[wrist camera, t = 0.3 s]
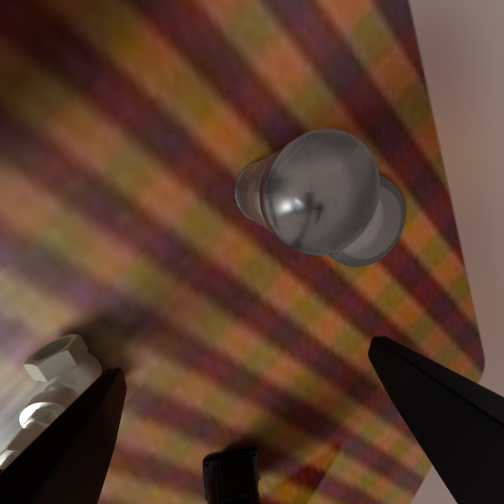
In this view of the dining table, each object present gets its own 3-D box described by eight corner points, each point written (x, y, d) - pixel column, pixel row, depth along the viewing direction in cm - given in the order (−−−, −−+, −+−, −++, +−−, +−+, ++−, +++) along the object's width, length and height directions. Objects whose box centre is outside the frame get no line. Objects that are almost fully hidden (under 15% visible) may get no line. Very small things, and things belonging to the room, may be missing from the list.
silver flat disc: (393, 261, 25) (402, 265, 24) (315, 267, 24) (321, 271, 23) (406, 174, 23) (417, 173, 22) (321, 174, 21) (328, 173, 20)
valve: (104, 320, 21) (-13, 473, 10) (134, 376, 23) (65, 557, 12) (27, 345, 20) (-196, 541, 9) (65, 400, 22) (-80, 619, 11)
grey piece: (289, 220, 22) (372, 251, 11) (234, 222, 21) (265, 258, 10) (291, 161, 21) (387, 130, 10) (232, 161, 20) (266, 125, 9)
